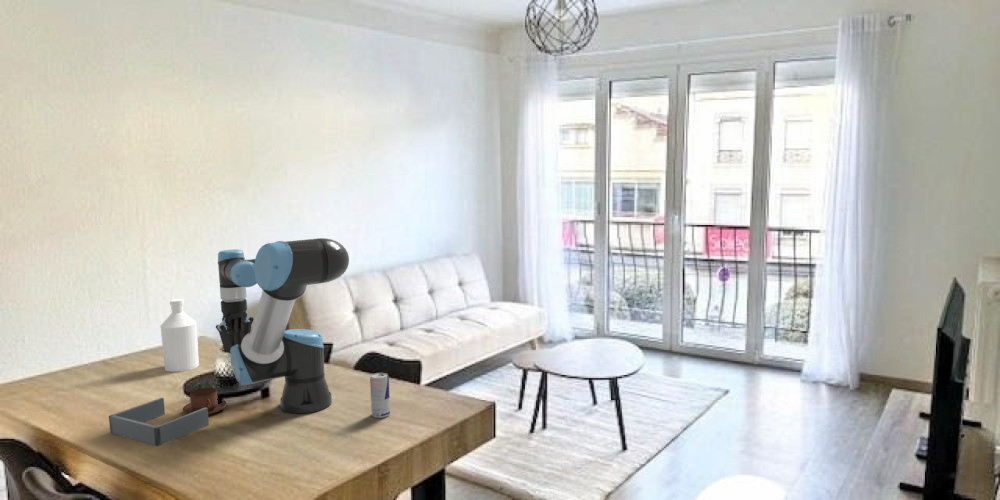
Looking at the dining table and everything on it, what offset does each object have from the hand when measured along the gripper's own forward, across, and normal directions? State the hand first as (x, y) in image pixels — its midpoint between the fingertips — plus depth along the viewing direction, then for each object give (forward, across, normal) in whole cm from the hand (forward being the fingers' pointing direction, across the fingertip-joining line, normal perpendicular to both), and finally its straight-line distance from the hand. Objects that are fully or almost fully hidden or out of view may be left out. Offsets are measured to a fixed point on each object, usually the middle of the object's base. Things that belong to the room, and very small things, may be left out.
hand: (238, 372), depth 211 cm
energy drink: (+8, -7, +50) cm, 52 cm away
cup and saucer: (+9, +13, 0) cm, 16 cm away
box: (+8, +28, 0) cm, 29 cm away
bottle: (+9, -14, -46) cm, 48 cm away
